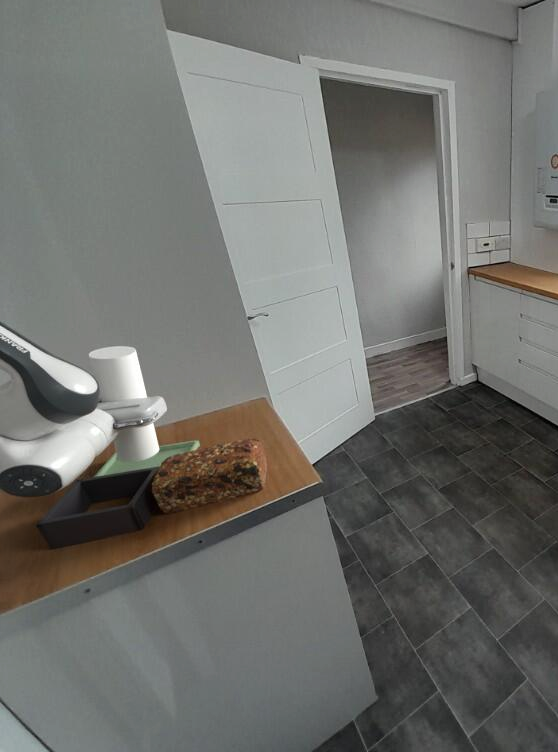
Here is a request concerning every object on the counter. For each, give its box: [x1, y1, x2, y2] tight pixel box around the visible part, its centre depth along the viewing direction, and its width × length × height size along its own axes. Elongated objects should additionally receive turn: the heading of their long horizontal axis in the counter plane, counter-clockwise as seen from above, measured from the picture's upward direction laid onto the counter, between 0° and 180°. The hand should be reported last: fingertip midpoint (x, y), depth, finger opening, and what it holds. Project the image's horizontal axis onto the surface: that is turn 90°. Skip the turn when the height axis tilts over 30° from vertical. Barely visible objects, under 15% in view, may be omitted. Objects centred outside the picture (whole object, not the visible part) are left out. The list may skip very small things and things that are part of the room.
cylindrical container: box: [88, 345, 160, 462], centre depth 89 cm, size 7×7×25 cm
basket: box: [35, 466, 160, 550], centre depth 82 cm, size 14×13×6 cm
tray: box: [93, 439, 201, 477], centre depth 96 cm, size 17×15×2 cm
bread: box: [152, 438, 268, 515], centre depth 88 cm, size 19×11×10 cm, turn 113°
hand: (119, 398), depth 89 cm, fingers closed on cylindrical container, 4 cm apart
